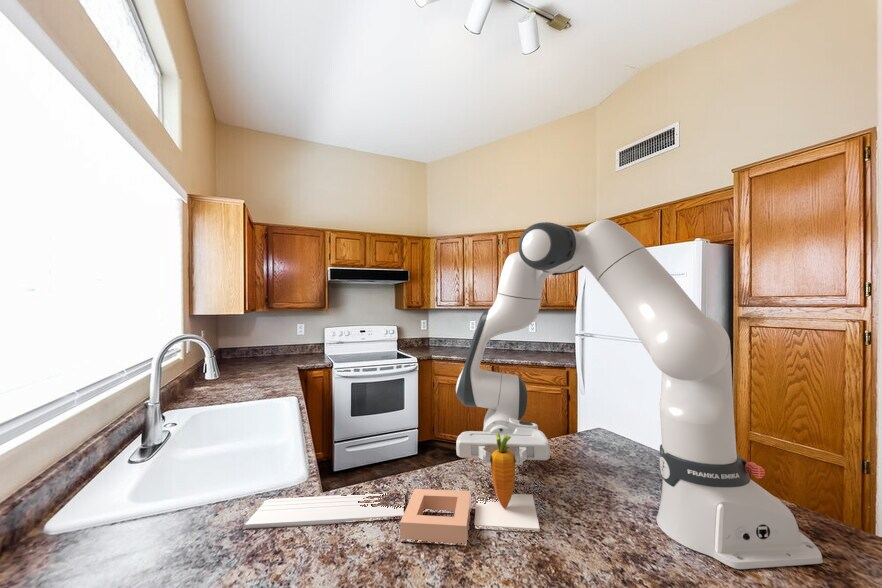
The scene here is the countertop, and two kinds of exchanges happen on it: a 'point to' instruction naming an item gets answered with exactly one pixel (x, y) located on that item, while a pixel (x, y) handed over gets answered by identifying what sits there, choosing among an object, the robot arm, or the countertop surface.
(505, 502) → the carrot
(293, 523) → the baseboard molding
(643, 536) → the countertop surface
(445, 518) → the holder ring
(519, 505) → the plate
